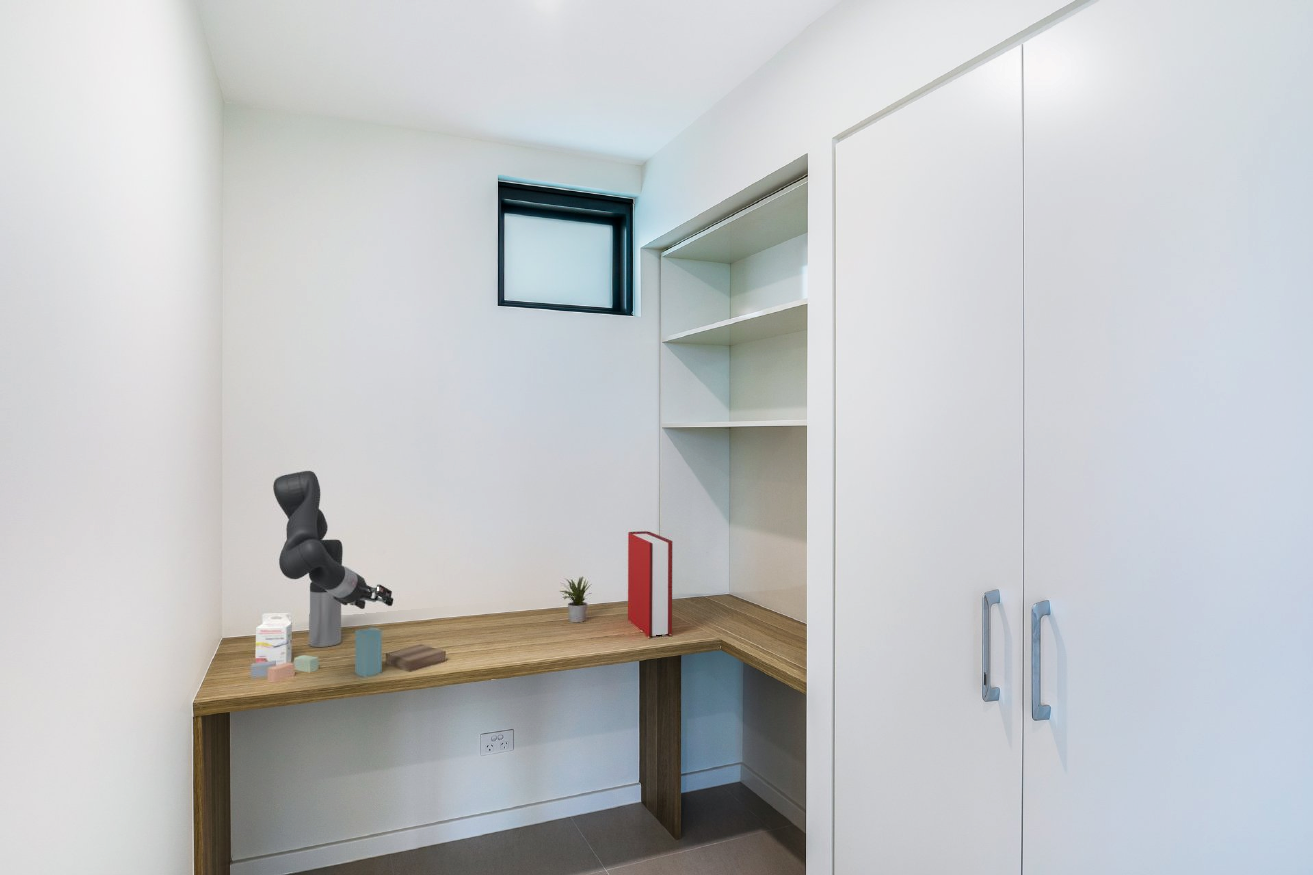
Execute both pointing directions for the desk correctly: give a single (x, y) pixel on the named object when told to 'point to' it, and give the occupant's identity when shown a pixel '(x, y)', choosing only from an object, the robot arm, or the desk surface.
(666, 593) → the book
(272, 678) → the terracotta brick
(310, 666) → the sage brick
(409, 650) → the walnut block
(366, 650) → the tall teal brick
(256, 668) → the slate brick
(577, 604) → the house plant
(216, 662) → the desk surface
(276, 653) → the ink cartridge box
